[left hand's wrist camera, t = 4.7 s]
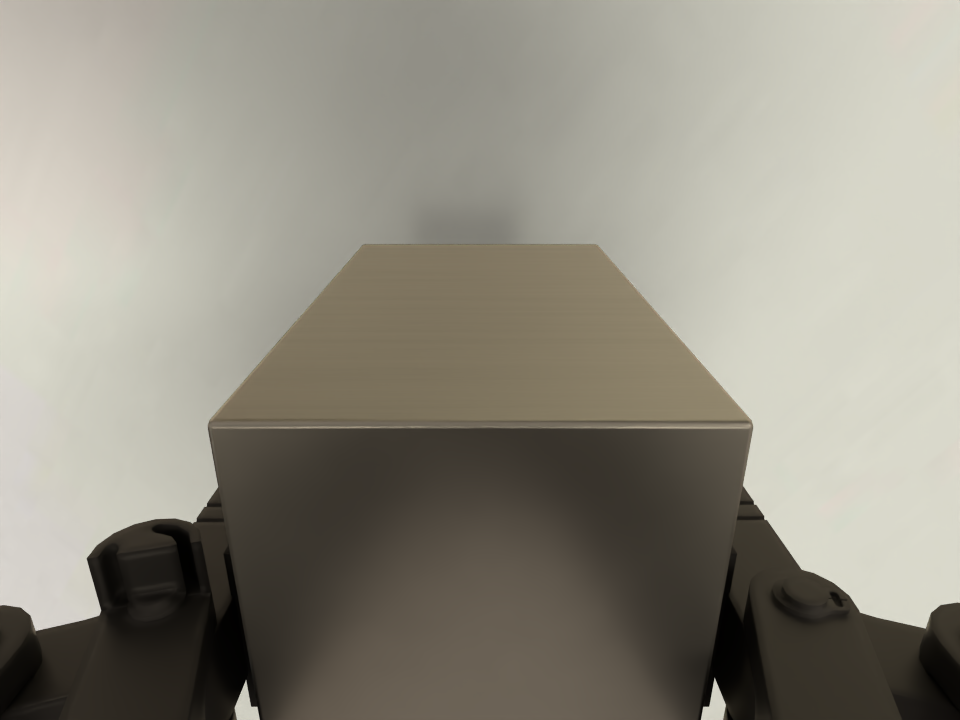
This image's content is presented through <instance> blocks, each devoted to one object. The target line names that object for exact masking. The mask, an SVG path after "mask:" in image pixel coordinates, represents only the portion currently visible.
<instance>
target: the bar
mask: <svg viewBox="0 0 960 720" xmlns="http://www.w3.org/2000/svg"><path fill="white" fill-rule="evenodd" d="M208 431H209V437H210V443H211V448H212V454H213V459H214V465H215V471H216V476H217V482H218V487H219V493H220V499H221V504H222V510H223V515H224V521H225V527H226V532H227V538H228V543H229V549H230V555H231V560H232V566H233V572H234V577H235V583H236V588H237V594H238V600H239V605H240V611H241V616H242V622H243V628H244V633H245V639H246V644H247V650H248V656H249V661H250V667H251V673H252V678H253V684H254V689H255V695H256V701H257V706H258V712H259V717H260V720H701V716H702V710H703V705H704V699H705V693H706V688H707V682H708V677H709V671H710V666H711V660H712V654H713V649H714V643H715V638H716V632H717V626H718V621H719V615H720V610H721V604H722V598H723V593H724V587H725V582H726V576H727V571H728V565H729V559H730V554H731V548H732V543H733V537H734V531H735V526H736V520H737V515H738V509H739V503H740V498H741V492H742V487H743V481H744V476H745V470H746V464H747V459H748V453H749V448H750V442H751V436H752V431H753V424H752V421H751V419H750V418H749V417H748V416H747V415H746V414H745V413H744V411H743V410H742V409H741V408H740V407H739V406H738V405H737V403H736V402H735V401H734V400H733V399H732V398H731V397H730V395H729V394H728V393H727V392H726V391H725V390H724V389H723V388H722V386H721V385H720V384H719V383H718V382H717V381H716V380H715V378H714V377H713V376H712V375H711V374H710V373H709V372H708V370H707V369H706V368H705V367H704V366H703V365H702V364H701V362H700V361H699V360H698V359H697V358H696V357H695V356H694V354H693V353H692V352H691V351H690V350H689V349H688V348H687V346H686V345H685V344H684V343H683V342H682V341H681V340H680V338H679V337H678V336H677V335H676V334H675V333H674V332H673V331H672V329H671V328H670V327H669V326H668V325H667V324H666V323H665V321H664V320H663V319H662V318H661V317H660V316H659V315H658V313H657V312H656V311H655V310H654V309H653V308H652V307H651V305H650V304H649V303H648V302H647V301H646V300H645V299H644V297H643V296H642V295H641V294H640V293H639V292H638V291H637V289H636V288H635V287H634V286H633V285H632V284H631V283H630V281H629V280H628V279H627V278H626V277H625V276H624V275H623V274H622V272H621V271H620V270H619V269H618V268H617V267H616V266H615V264H614V263H613V262H612V261H611V260H610V259H609V258H608V256H607V255H606V254H605V253H604V252H603V251H602V250H601V248H600V247H599V246H598V245H596V244H365V245H362V247H361V248H360V249H359V250H358V251H357V252H356V253H355V255H354V256H353V257H352V258H351V259H350V260H349V262H348V263H347V264H346V265H345V266H344V267H343V268H342V270H341V271H340V272H339V273H338V274H337V275H336V276H335V278H334V279H333V280H332V281H331V282H330V283H329V284H328V286H327V287H326V288H325V289H324V290H323V291H322V292H321V294H320V295H319V296H318V297H317V298H316V299H315V300H314V302H313V303H312V304H311V305H310V306H309V307H308V308H307V310H306V311H305V312H304V313H303V314H302V315H301V316H300V318H299V319H298V320H297V321H296V322H295V323H294V324H293V326H292V327H291V328H290V329H289V330H288V331H287V332H286V334H285V335H284V336H283V337H282V338H281V339H280V340H279V342H278V343H277V344H276V345H275V346H274V347H273V348H272V350H271V351H270V352H269V353H268V354H267V355H266V356H265V358H264V359H263V360H262V361H261V362H260V363H259V364H258V366H257V367H256V368H255V369H254V370H253V371H252V372H251V374H250V375H249V376H248V377H247V378H246V379H245V380H244V382H243V383H242V384H241V385H240V386H239V387H238V388H237V390H236V391H235V392H234V393H233V394H232V395H231V396H230V398H229V399H228V400H227V401H226V402H225V403H224V404H223V406H222V407H221V408H220V409H219V410H218V411H217V412H216V414H215V415H214V416H213V417H212V418H211V419H210V420H209V423H208Z"/></svg>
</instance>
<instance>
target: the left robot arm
mask: <svg viewBox="0 0 960 720" xmlns="http://www.w3.org/2000/svg"><path fill="white" fill-rule="evenodd" d="M87 561H88V565H89V568H90V572H91V575H92V579H93V582H94V586H95V590H96V593H97V597H98V600H99V604H100V607H101V613H100V616H97V617H94V618H90V619H87V620H83V621H79V622H74V623H70V624H65V625H61V626H57V627H52V628H48V629H43V630H39V631H35V628H34V625H33V622H32V619H31V616H30V615H29V614H28V613H26V612H25V611H24V610H23V609H22V608H19V607H12V606H5V605H2V606H0V720H237V718H236V713H235V705H236V703H237V700H238V698H239V695H240V693H241V691H242V688H243V686H244V683H245V681H246V680H247V686H248V691H249V697H250V702H251V707H258V706H257V701H256V695H255V689H254V684H253V678H252V673H251V667H250V661H249V656H248V650H247V644H246V639H245V633H244V628H243V622H242V616H241V611H240V605H239V600H238V594H237V588H236V583H235V577H234V572H233V566H232V560H231V555H230V549H229V543H228V538H227V532H226V527H225V521H224V515H223V510H222V504H221V499H220V493H219V487H218V489H217V490H216V491H215V493H214V494H213V496H212V497H211V499H210V500H209V501H208V503H207V507H204V509H203V510H202V512H201V513H200V514H199V516H198V517H197V522H194V523H193V524H192V523H191V522H187V521H183V520H179V519H155V520H151V521H147V522H143V523H138V524H134V525H132V526H130V527H127V528H125V529H123V530H121V531H118V532H116V533H114V534H112V535H111V536H110V537H108V538H107V539H105V540H104V541H103V542H101V543H100V544H98V545H97V546H96V547H95V549H94V550H93V551H92V553H91V554H90V555H89V556H88V558H87ZM714 677H715V679H716V682H717V684H718V686H719V689H720V691H721V694H722V696H723V699H724V701H725V703H726V708H725V713H724V718H723V720H960V603H952V604H946V605H940V606H939V607H938V608H937V609H935V610H934V611H933V612H932V613H931V615H930V618H929V621H928V624H927V627H926V629H924V628H920V627H916V626H911V625H907V624H902V623H898V622H893V621H889V620H884V619H880V618H876V617H872V616H869V615H866V614H862V613H860V612H859V610H858V608H857V607H856V605H855V604H854V602H853V601H852V599H851V598H850V596H849V595H848V594H846V593H845V592H844V591H843V590H841V589H840V588H839V587H838V586H836V585H835V584H834V583H832V582H830V581H828V580H826V579H824V578H822V577H820V576H818V575H816V574H814V573H811V572H807V571H804V570H801V568H800V567H799V565H798V564H797V563H796V561H795V560H794V558H793V557H792V555H791V554H790V553H789V551H788V550H787V548H786V547H785V545H784V544H783V543H782V541H781V540H780V538H779V537H778V535H777V534H776V533H775V531H774V530H773V528H772V527H771V525H770V524H769V523H768V521H767V520H764V515H763V514H762V513H761V511H760V510H759V508H758V507H757V505H754V501H753V500H752V498H751V497H750V495H749V494H748V493H747V491H746V490H745V488H744V487H742V492H741V498H740V503H739V509H738V515H737V520H736V526H735V531H734V537H733V543H732V548H731V554H730V559H729V565H728V571H727V576H726V582H725V587H724V593H723V598H722V604H721V610H720V615H719V621H718V626H717V632H716V638H715V643H714V649H713V654H712V660H711V666H710V671H709V677H708V682H707V688H706V693H705V699H704V705H703V707H709V705H710V699H711V694H712V688H713V683H714Z"/></svg>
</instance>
